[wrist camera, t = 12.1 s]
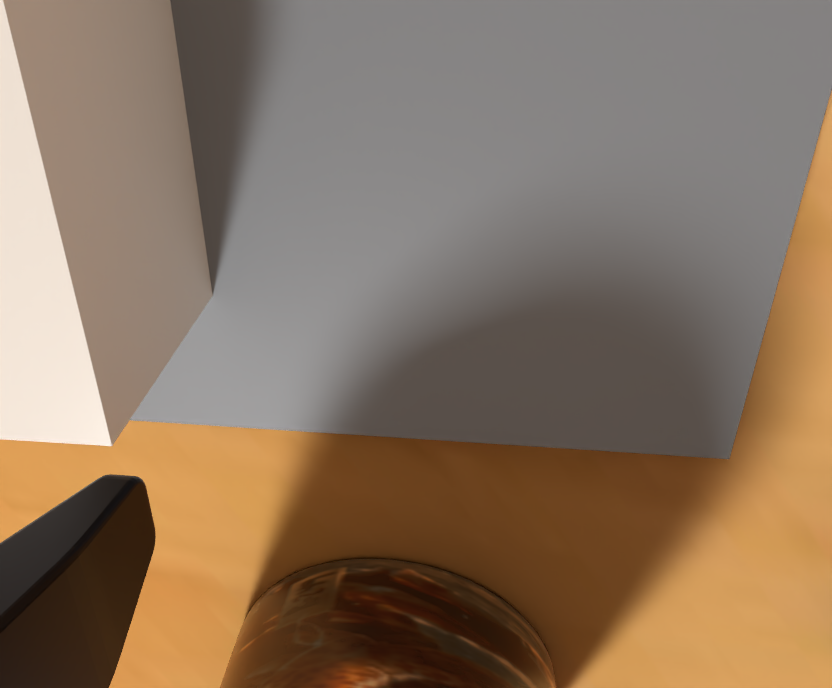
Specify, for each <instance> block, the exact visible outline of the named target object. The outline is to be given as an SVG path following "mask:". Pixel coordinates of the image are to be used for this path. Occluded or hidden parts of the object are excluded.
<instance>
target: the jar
mask: <svg viewBox="0 0 832 688" xmlns="http://www.w3.org/2000/svg"><path fill="white" fill-rule="evenodd" d="M220 688H556V681H555V675H554V669H553V665H552V662H551V659H550V656H549V653H548V651H547V649H546V647H545V645H544V643H543V641H542V640H541V638H540V636H539V635H538V634H537V632H536V631H535V629H534V628H533V627H532V626H531V625H530V624H529V622H528V621H527V620H526V619H525V618H524V617H523V616H522V615H521V614H520V613H519V612H518V611H517V610H515V609H514V608H513V607H512V606H511V605H509V604H508V603H507V602H506V601H504V600H503V599H501V598H500V597H498V596H497V595H496V594H494V593H492V592H490V591H489V590H487V589H485V588H484V587H482V586H480V585H478V584H476V583H474V582H472V581H470V580H468V579H465V578H463V577H461V576H458V575H456V574H453V573H450V572H447V571H444V570H441V569H438V568H434V567H430V566H427V565H422V564H417V563H413V562H406V561H399V560H389V559H350V560H341V561H335V562H329V563H324V564H320V565H317V566H313V567H310V568H307V569H304V570H301V571H299V572H297V573H294V574H292V575H290V576H288V577H286V578H284V579H283V580H281V581H279V582H278V583H276V584H275V585H274V586H272V587H271V588H269V589H268V590H267V591H266V592H265V593H264V594H263V595H262V596H261V597H260V598H259V599H258V600H257V601H256V602H255V604H254V605H253V607H252V608H251V610H250V611H249V613H248V615H247V617H246V619H245V621H244V623H243V625H242V627H241V630H240V633H239V635H238V638H237V641H236V644H235V646H234V649H233V652H232V655H231V658H230V660H229V663H228V666H227V669H226V672H225V675H224V678H223V681H222V684H221V686H220Z"/></svg>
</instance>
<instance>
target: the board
mask: <svg viewBox="0 0 832 688" xmlns="http://www.w3.org/2000/svg"><path fill="white" fill-rule="evenodd" d="M170 2H171V9H172V16H173V23H174V30H175V37H176V44H177V51H178V58H179V65H180V72H181V79H182V86H183V93H184V100H185V107H186V114H187V121H188V128H189V134H190V141H191V148H192V155H193V162H194V169H195V176H196V183H197V190H198V197H199V204H200V211H201V218H202V225H203V232H204V239H205V246H206V253H207V260H208V267H209V274H210V281H211V288H212V295H213V296H212V297H211V299H210V300H209V302H208V303H207V305H206V306H205V308H204V309H203V311H202V312H201V314H200V315H199V317H198V318H197V320H196V321H195V323H194V324H193V326H192V327H191V329H190V330H189V332H188V333H187V335H186V336H185V338H184V339H183V341H182V342H181V344H180V345H179V347H178V348H177V350H176V351H175V353H174V354H173V356H172V357H171V359H170V360H169V362H168V363H167V365H166V366H165V368H164V369H163V371H162V372H161V374H160V375H159V377H158V378H157V380H156V381H155V382H154V384H153V385H152V387H151V388H150V390H149V391H148V393H147V394H146V396H145V397H144V399H143V400H142V402H141V403H140V405H139V406H138V408H137V409H136V411H135V412H134V414H133V415H132V417H131V418H130V420H135V421H151V422H166V423H181V424H197V425H212V426H228V427H243V428H258V429H274V430H289V431H304V432H320V433H335V434H350V435H366V436H381V437H397V438H412V439H427V440H443V441H458V442H473V443H489V444H504V445H519V446H535V447H550V448H565V449H581V450H596V451H612V452H627V453H642V454H658V455H673V456H688V457H704V458H719V459H729V458H730V455H731V451H732V448H733V444H734V440H735V437H736V433H737V429H738V426H739V422H740V419H741V415H742V411H743V408H744V404H745V400H746V397H747V393H748V390H749V386H750V382H751V379H752V375H753V372H754V368H755V364H756V361H757V357H758V353H759V350H760V346H761V343H762V339H763V335H764V332H765V328H766V325H767V321H768V317H769V314H770V310H771V306H772V303H773V299H774V296H775V292H776V288H777V285H778V281H779V277H780V274H781V270H782V267H783V263H784V259H785V256H786V252H787V249H788V245H789V241H790V238H791V234H792V230H793V227H794V223H795V220H796V216H797V212H798V209H799V205H800V202H801V198H802V194H803V191H804V187H805V183H806V180H807V176H808V173H809V169H810V165H811V162H812V158H813V154H814V151H815V147H816V144H817V140H818V136H819V133H820V129H821V126H822V122H823V118H824V115H825V111H826V107H827V104H828V100H829V97H830V93H831V89H832V0H170Z"/></svg>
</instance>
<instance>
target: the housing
mask: <svg viewBox="0 0 832 688" xmlns="http://www.w3.org/2000/svg"><path fill="white" fill-rule="evenodd" d="M212 296H213V295H212V288H211V281H210V274H209V267H208V260H207V253H206V246H205V239H204V232H203V225H202V218H201V211H200V204H199V197H198V190H197V183H196V176H195V169H194V162H193V155H192V148H191V141H190V134H189V128H188V121H187V114H186V107H185V100H184V93H183V86H182V79H181V72H180V65H179V58H178V51H177V44H176V37H175V30H174V23H173V16H172V9H171V2H170V0H0V439H6V440H22V441H38V442H55V443H71V444H87V445H103V446H112V445H113V444H114V442H115V441H116V439H117V438H118V436H119V435H120V433H121V432H122V430H123V429H124V427H125V426H126V424H127V423H128V421H129V420H130V418H131V417H132V415H133V414H134V412H135V411H136V409H137V408H138V406H139V405H140V403H141V402H142V400H143V399H144V397H145V396H146V394H147V393H148V391H149V390H150V388H151V387H152V385H153V384H154V382H155V381H156V380H157V378H158V377H159V375H160V374H161V372H162V371H163V369H164V368H165V366H166V365H167V363H168V362H169V360H170V359H171V357H172V356H173V354H174V353H175V351H176V350H177V348H178V347H179V345H180V344H181V342H182V341H183V339H184V338H185V336H186V335H187V333H188V332H189V330H190V329H191V327H192V326H193V324H194V323H195V321H196V320H197V318H198V317H199V315H200V314H201V312H202V311H203V309H204V308H205V306H206V305H207V303H208V302H209V300H210V299H211V297H212Z"/></svg>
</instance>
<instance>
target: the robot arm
mask: <svg viewBox="0 0 832 688" xmlns="http://www.w3.org/2000/svg"><path fill="white" fill-rule="evenodd" d="M154 546H155V527H154V522H153V517H152V513H151V508H150V503H149V499H148V494H147V489H146V486H145V483H144V482H143V480H142V479H141V478H139V477H136V476H125V475H105V476H102V477H100V478H99V479H97V480H95V481H94V482H92V483H91V484H89V485H88V486H86V487H85V488H83V489H82V490H80V491H79V492H77V493H76V494H74V495H73V496H71V497H70V498H68V499H67V500H65V501H63V502H62V503H60V504H59V505H57V506H56V507H54V508H53V509H51V510H50V511H48V512H47V513H45V514H44V515H42V516H41V517H39V518H38V519H36V520H35V521H33V522H32V523H30V524H29V525H27V526H25V527H24V528H22V529H21V530H19V531H18V532H16V533H15V534H13V535H12V536H10V537H9V538H7V539H6V540H4V541H3V542H1V543H0V688H109V685H110V683H111V681H112V678H113V676H114V673H115V670H116V667H117V664H118V661H119V658H120V655H121V652H122V649H123V646H124V643H125V640H126V636H127V633H128V630H129V627H130V624H131V621H132V617H133V614H134V611H135V608H136V605H137V602H138V598H139V595H140V592H141V589H142V586H143V582H144V579H145V576H146V573H147V570H148V567H149V563H150V560H151V557H152V554H153V550H154Z"/></svg>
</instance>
